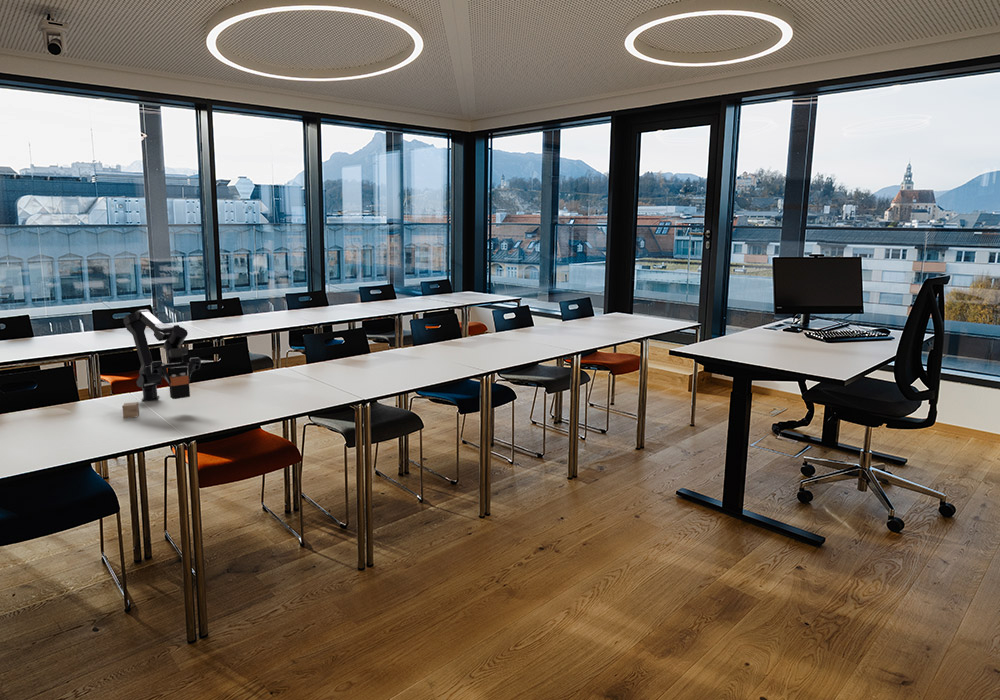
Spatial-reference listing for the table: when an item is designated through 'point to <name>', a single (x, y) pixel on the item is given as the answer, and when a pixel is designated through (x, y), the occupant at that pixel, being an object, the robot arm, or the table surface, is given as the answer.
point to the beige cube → (130, 409)
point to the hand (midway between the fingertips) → (179, 382)
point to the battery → (179, 386)
